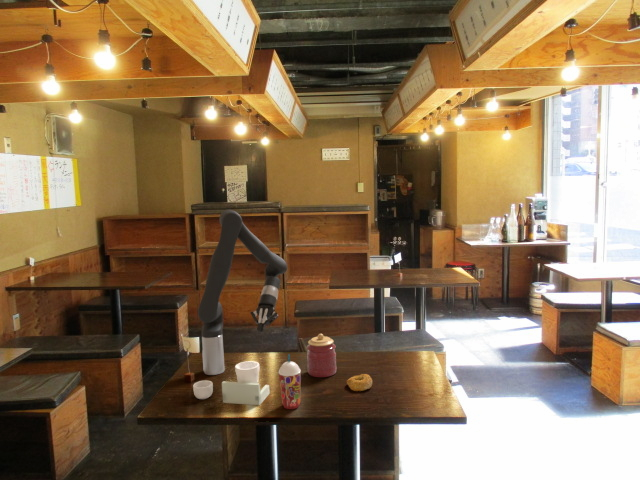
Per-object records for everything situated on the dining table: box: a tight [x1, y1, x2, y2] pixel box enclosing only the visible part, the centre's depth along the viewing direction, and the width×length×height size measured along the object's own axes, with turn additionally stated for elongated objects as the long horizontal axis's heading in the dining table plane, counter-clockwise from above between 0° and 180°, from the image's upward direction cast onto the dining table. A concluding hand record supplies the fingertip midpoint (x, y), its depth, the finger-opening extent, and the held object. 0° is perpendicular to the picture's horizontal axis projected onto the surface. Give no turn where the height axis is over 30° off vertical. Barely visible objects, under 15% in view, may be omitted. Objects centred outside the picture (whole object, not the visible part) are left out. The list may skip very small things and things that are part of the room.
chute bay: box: [221, 380, 271, 406], centre depth 193 cm, size 11×15×8 cm
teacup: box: [192, 379, 214, 400], centre depth 197 cm, size 10×8×5 cm
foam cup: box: [234, 360, 261, 383], centre depth 193 cm, size 10×9×13 cm
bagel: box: [346, 373, 373, 392], centre depth 199 cm, size 10×11×5 cm
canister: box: [306, 333, 337, 378], centre depth 216 cm, size 13×13×18 cm
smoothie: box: [278, 354, 302, 410], centre depth 183 cm, size 8×8×20 cm
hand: (259, 332), depth 208 cm, fingers closed
